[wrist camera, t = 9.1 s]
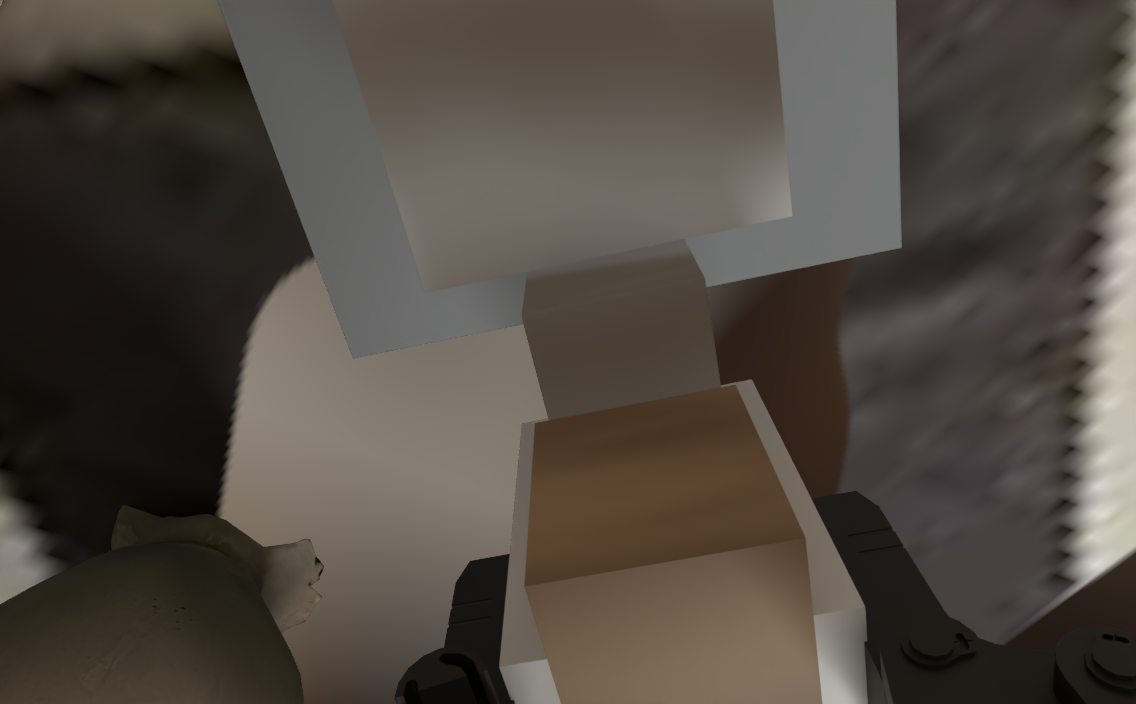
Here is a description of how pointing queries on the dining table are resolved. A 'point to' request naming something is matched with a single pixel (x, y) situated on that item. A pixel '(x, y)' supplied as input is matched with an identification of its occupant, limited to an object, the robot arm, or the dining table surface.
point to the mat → (412, 317)
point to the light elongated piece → (612, 313)
